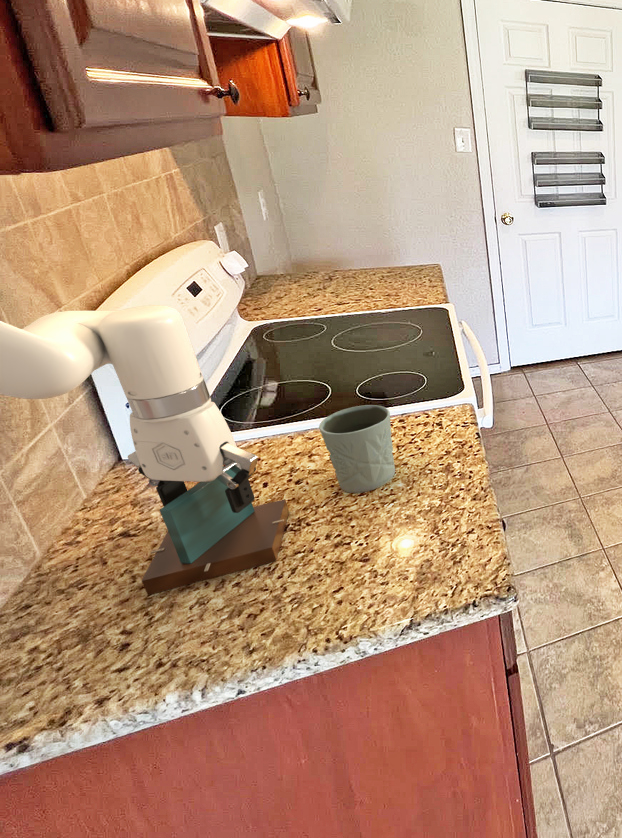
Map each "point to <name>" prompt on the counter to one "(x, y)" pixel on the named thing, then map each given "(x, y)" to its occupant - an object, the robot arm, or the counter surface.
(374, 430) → the drinking glass
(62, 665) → the counter surface
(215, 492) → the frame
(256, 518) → the frame stand
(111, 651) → the counter surface
